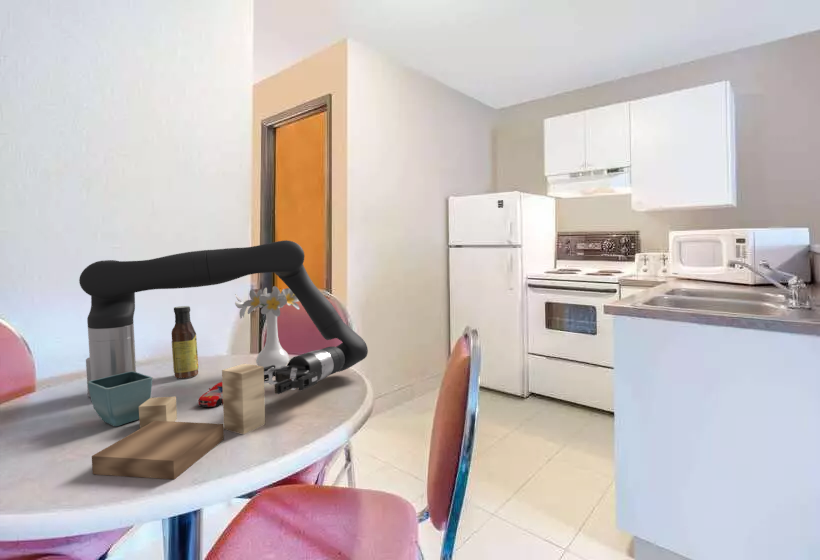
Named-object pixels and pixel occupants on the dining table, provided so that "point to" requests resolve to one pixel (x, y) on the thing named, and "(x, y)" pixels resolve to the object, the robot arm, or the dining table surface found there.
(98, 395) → the flower pot
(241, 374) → the oak pillar
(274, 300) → the flower vase
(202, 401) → the race car
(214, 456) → the dining table surface
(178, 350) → the sauce bottle
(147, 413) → the oak cube
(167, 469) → the walnut slab
